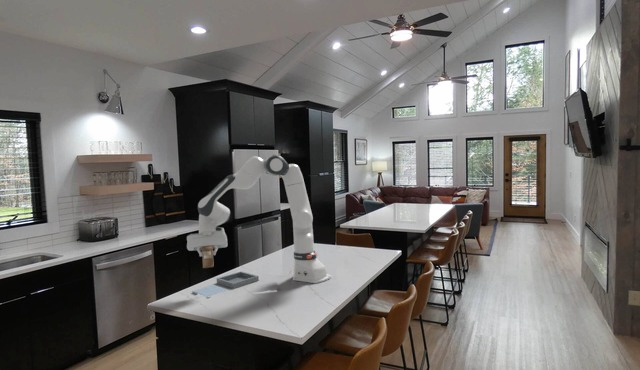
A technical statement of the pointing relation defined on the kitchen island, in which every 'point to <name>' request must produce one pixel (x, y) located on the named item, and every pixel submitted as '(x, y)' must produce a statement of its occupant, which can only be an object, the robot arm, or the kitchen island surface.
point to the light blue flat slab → (209, 290)
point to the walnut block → (207, 256)
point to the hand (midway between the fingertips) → (207, 255)
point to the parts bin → (237, 279)
